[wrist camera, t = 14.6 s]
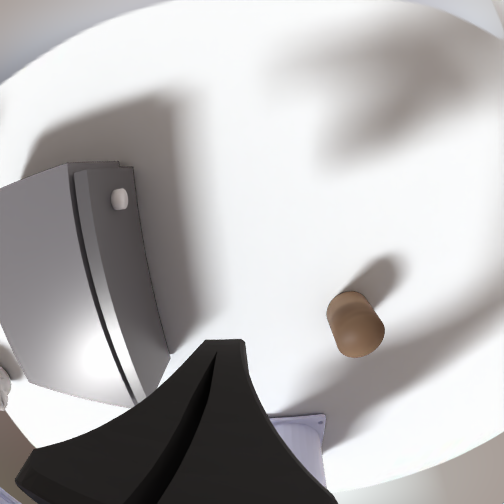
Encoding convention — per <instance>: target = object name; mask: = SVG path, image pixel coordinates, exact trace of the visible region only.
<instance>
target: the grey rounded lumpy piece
mask: <svg viewBox="0 0 504 504" xmlns="http://www.w3.org/2000/svg"><path fill="white" fill-rule="evenodd" d="M10 390H11V381H10V377H9V375H8V373H7V372H6V371H5V370H4V369H3V368H2V367H0V410H3V411H4V410H5V407H6V406H7V402H8V396H7V395H8V394H9V392H10Z"/></svg>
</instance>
